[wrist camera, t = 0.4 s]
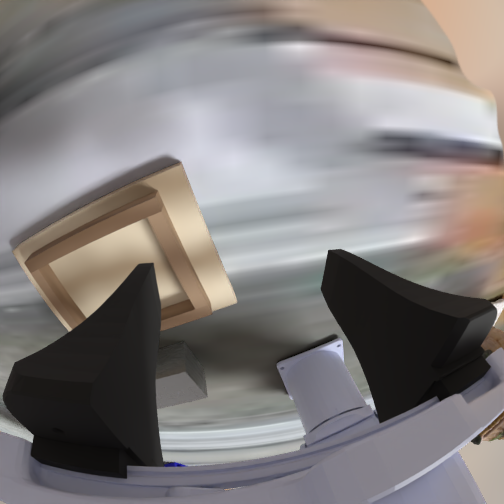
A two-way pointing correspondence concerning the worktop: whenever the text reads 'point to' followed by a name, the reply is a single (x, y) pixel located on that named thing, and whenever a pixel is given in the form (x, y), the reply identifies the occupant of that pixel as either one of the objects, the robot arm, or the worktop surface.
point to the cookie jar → (495, 339)
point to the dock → (130, 252)
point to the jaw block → (178, 376)
